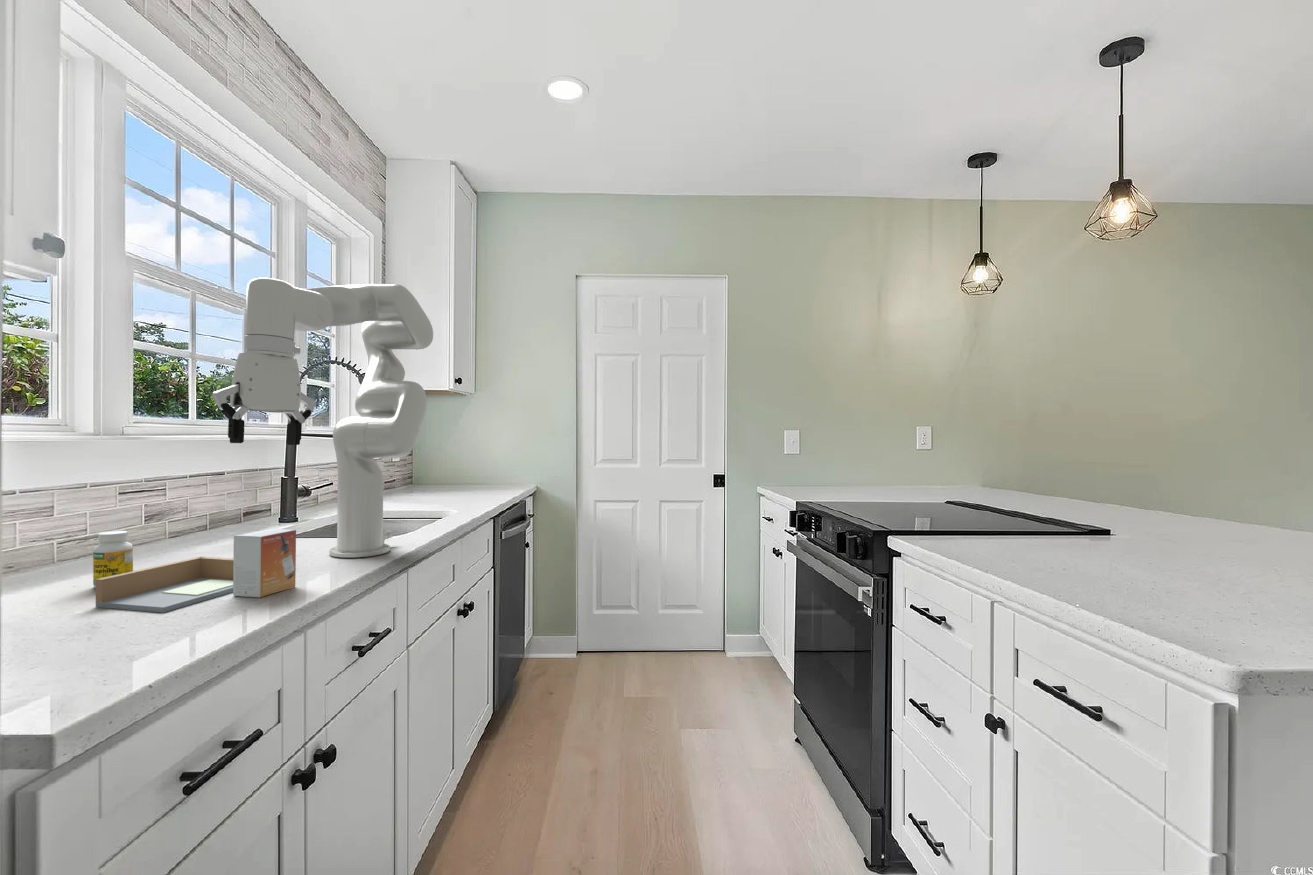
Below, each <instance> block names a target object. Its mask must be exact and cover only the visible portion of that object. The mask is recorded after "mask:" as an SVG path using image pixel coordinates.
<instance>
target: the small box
mask: <svg viewBox="0 0 1313 875" xmlns="http://www.w3.org/2000/svg"><path fill="white" fill-rule="evenodd" d="M296 548H297V530H296V529H284V528H268V529H265V530H259V531H253V532H249V533H242V534H236V535H233V558H232V559H233V592H232V595H233V596H234V597H243V598H246V597H247V598H258V599H259V598H263V597H265V596H269V595H272V594H275V593H278V592H283V591H286V590H291V589H294V588H295V587H296V572H297V571H296V567H297V564H296V562H297V561H296V560H297V559H296V558H297V554H296V553H297V549H296Z"/></svg>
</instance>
